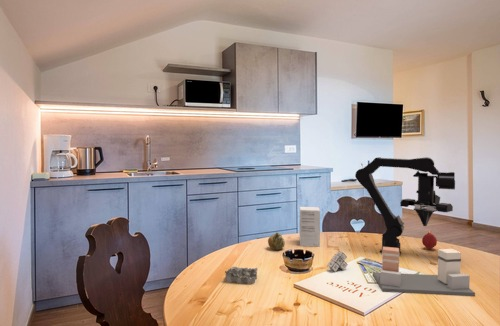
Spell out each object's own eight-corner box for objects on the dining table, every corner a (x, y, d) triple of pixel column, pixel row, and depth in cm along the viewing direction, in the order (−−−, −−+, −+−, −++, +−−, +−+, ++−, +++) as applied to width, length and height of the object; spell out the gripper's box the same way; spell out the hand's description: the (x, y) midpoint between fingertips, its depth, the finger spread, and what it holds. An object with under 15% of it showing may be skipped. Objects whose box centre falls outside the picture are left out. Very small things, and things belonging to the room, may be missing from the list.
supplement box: (299, 240, 168) (299, 206, 167) (318, 241, 166) (319, 206, 166) (299, 246, 158) (299, 209, 158) (320, 246, 157) (320, 210, 156)
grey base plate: (372, 275, 122) (372, 261, 122) (453, 278, 119) (454, 264, 119) (382, 291, 108) (382, 275, 108) (474, 295, 105) (475, 279, 105)
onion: (438, 251, 150) (439, 233, 149) (424, 250, 151) (424, 232, 150) (434, 247, 155) (434, 230, 155) (420, 247, 156) (420, 229, 156)
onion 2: (288, 248, 155) (288, 230, 155) (280, 252, 148) (280, 234, 148) (273, 245, 159) (273, 228, 159) (265, 250, 152) (265, 232, 152)
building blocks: (339, 276, 126) (351, 259, 128) (331, 267, 125) (343, 250, 127) (330, 271, 131) (342, 255, 133) (322, 263, 129) (334, 246, 131)
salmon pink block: (382, 275, 118) (382, 246, 118) (398, 277, 116) (399, 248, 116) (381, 279, 115) (382, 249, 114) (398, 281, 113) (399, 251, 112)
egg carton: (223, 283, 116) (223, 271, 116) (229, 275, 123) (229, 263, 123) (254, 286, 113) (253, 273, 113) (258, 277, 121) (258, 266, 120)
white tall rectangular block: (437, 279, 115) (438, 249, 114) (451, 278, 115) (452, 248, 115) (445, 283, 111) (446, 253, 110) (460, 282, 111) (461, 252, 111)
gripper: (459, 188, 138) (458, 227, 139) (413, 184, 153) (412, 219, 154) (446, 191, 131) (445, 231, 132) (399, 186, 146) (399, 223, 147)
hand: (425, 226), depth 141 cm, fingers closed
